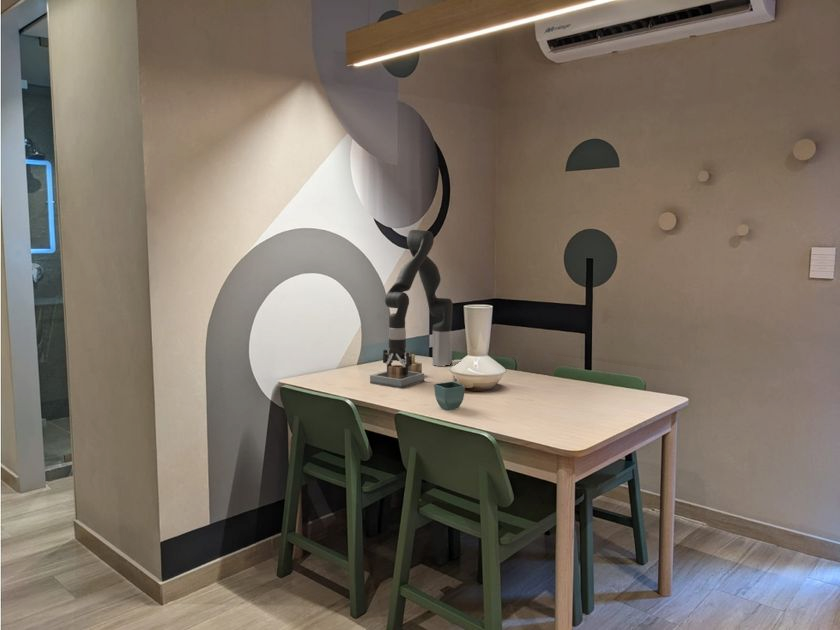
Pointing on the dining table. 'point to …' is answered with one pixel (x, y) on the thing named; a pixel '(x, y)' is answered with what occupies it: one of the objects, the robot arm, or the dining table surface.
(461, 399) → the flower pot
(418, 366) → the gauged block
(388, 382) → the tray
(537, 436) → the dining table surface
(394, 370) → the bored block
